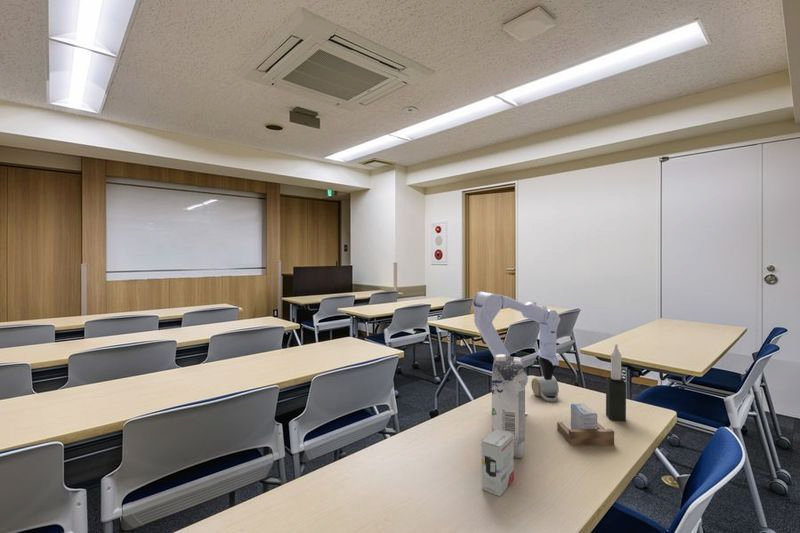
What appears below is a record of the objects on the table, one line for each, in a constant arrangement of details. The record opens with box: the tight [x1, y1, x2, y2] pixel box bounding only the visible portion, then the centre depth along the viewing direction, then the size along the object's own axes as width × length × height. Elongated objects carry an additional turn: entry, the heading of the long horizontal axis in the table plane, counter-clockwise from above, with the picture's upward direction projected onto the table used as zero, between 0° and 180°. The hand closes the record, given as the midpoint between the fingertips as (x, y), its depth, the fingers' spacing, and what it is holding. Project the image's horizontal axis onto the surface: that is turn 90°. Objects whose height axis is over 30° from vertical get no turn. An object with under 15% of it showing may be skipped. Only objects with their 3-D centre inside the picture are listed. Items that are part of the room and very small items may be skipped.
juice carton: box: [491, 354, 526, 459], centre depth 106 cm, size 9×10×27 cm
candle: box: [605, 343, 627, 422], centre depth 125 cm, size 5×5×25 cm
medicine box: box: [570, 402, 598, 429], centre depth 113 cm, size 8×4×9 cm, turn 1°
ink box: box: [481, 429, 515, 497], centre depth 90 cm, size 9×5×12 cm, turn 141°
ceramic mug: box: [530, 375, 560, 403], centre depth 145 cm, size 11×8×8 cm
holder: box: [556, 421, 615, 446], centre depth 113 cm, size 12×10×4 cm
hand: (547, 379), depth 136 cm, fingers closed
